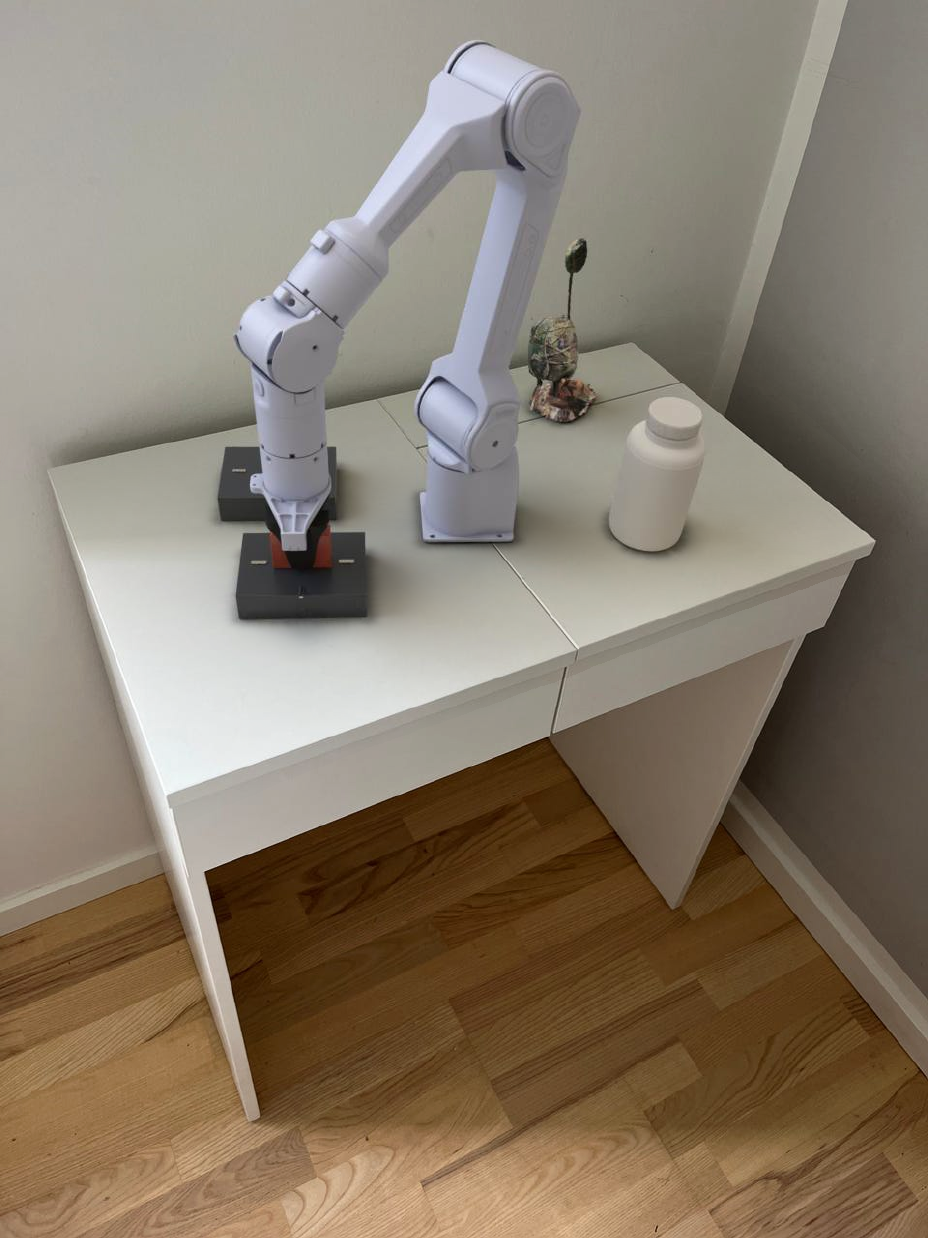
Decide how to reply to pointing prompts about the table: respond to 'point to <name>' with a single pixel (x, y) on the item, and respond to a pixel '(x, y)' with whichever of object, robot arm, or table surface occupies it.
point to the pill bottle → (658, 476)
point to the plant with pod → (559, 356)
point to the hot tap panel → (302, 581)
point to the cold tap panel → (236, 485)
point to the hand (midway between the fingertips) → (302, 557)
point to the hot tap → (322, 552)
